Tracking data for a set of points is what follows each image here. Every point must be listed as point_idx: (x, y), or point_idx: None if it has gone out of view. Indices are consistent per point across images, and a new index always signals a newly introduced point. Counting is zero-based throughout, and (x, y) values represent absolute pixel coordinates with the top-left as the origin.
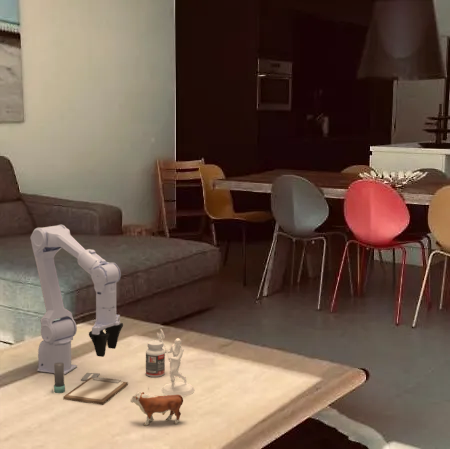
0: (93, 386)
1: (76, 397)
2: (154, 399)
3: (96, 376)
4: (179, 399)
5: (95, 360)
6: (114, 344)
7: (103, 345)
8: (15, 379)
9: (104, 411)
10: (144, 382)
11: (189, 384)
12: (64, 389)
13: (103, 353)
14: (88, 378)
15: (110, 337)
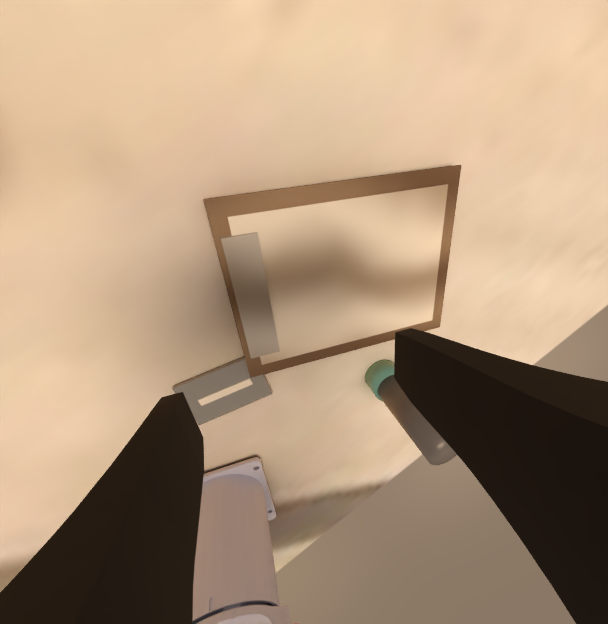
0: (335, 302)
1: (439, 287)
2: None
3: (211, 375)
4: None
5: (47, 499)
6: (175, 427)
7: (540, 374)
8: (345, 497)
9: (505, 119)
10: (102, 123)
11: None
12: (382, 365)
13: (434, 338)
14: (250, 381)
15: (176, 545)
